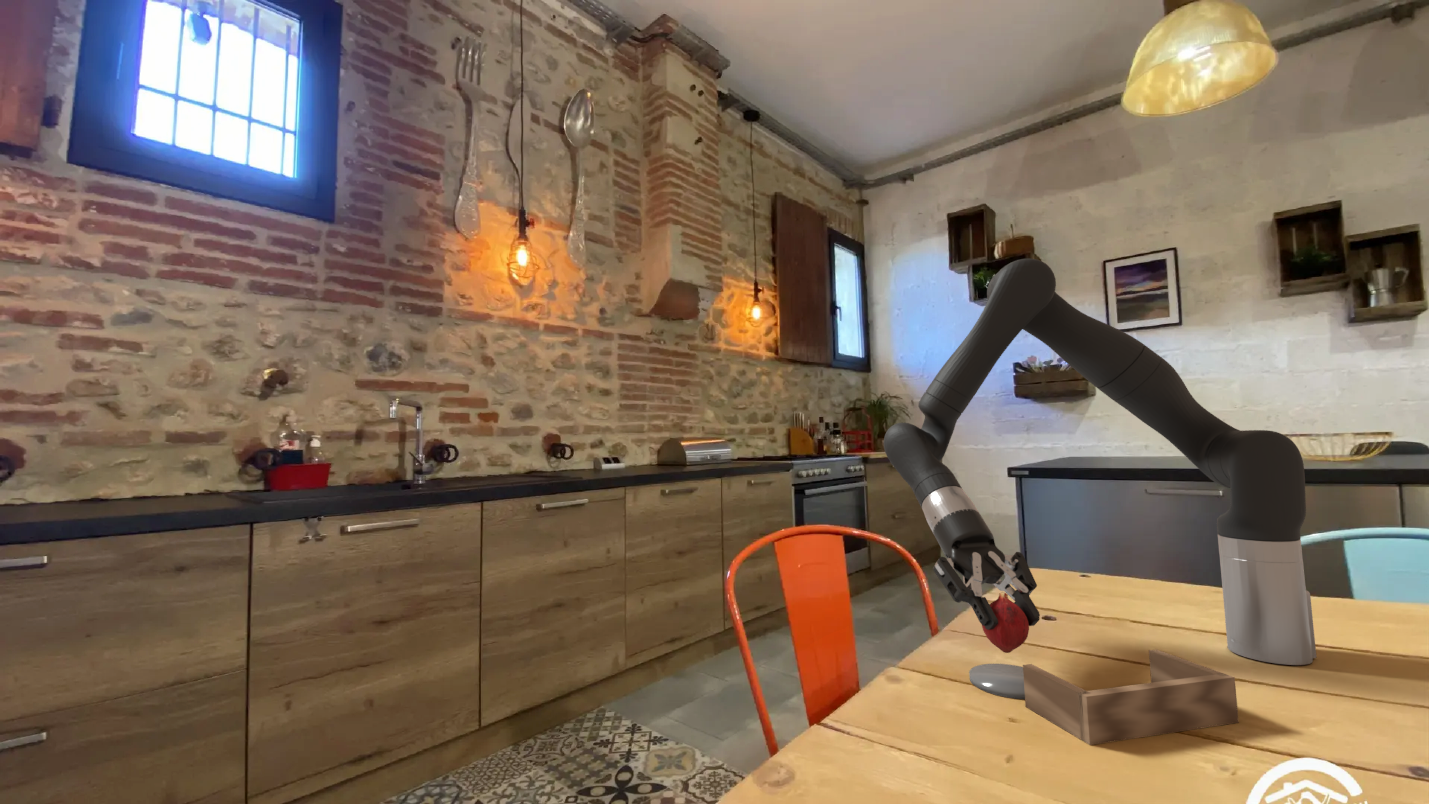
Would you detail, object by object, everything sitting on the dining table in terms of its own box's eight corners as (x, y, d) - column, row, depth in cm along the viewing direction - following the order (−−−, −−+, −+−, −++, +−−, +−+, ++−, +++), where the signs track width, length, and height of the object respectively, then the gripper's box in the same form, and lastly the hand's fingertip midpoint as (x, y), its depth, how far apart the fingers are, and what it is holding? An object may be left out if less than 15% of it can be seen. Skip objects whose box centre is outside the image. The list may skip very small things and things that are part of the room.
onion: (1036, 661, 77) (1033, 599, 77) (989, 659, 78) (986, 597, 78) (1022, 646, 82) (1019, 588, 83) (978, 644, 83) (975, 587, 84)
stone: (1016, 666, 85) (1015, 660, 85) (1070, 694, 76) (1070, 687, 76) (954, 673, 83) (954, 667, 83) (1002, 703, 74) (1002, 696, 74)
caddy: (1159, 689, 77) (1156, 649, 77) (1238, 722, 67) (1234, 677, 68) (1025, 706, 72) (1022, 664, 73) (1089, 744, 63) (1086, 696, 63)
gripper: (922, 509, 87) (978, 614, 75) (1007, 505, 90) (1074, 605, 78) (905, 540, 92) (954, 643, 79) (986, 535, 95) (1046, 634, 82)
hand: (1013, 624), depth 79 cm, fingers closed on onion, 5 cm apart
